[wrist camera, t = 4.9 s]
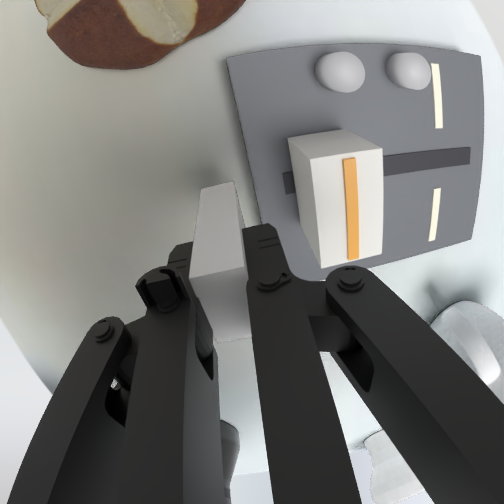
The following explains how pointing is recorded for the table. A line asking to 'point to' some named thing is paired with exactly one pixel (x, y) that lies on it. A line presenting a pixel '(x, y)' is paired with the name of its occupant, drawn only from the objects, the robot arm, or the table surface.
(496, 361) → the mug
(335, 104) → the console
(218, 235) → the robot arm
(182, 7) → the bread
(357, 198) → the fader cap
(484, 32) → the table surface
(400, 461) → the cup
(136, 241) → the table surface
